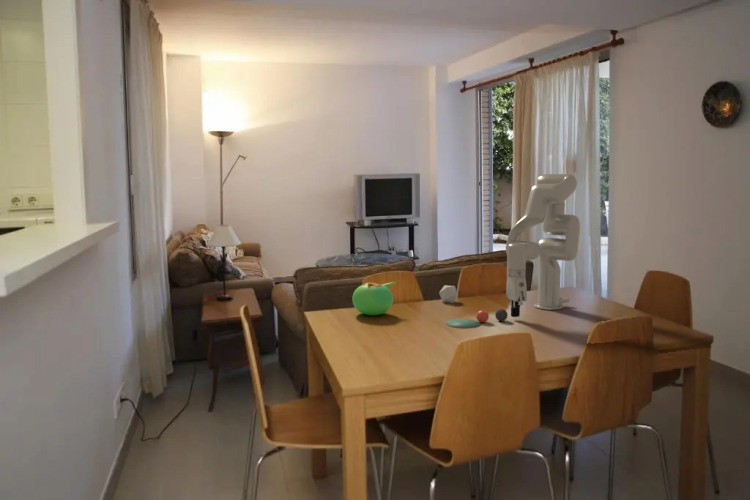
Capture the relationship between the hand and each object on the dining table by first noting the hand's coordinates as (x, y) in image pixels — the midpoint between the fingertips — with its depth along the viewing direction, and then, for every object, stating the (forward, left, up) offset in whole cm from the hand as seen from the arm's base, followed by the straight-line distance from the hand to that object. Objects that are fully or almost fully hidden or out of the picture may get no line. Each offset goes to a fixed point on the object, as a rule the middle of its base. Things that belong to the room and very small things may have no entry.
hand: (515, 316), depth 237 cm
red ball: (+15, 0, +1) cm, 15 cm away
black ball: (+6, 0, +1) cm, 6 cm away
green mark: (+23, 0, -2) cm, 23 cm away
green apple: (+55, -25, -2) cm, 60 cm away
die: (+15, -39, -2) cm, 42 cm away
